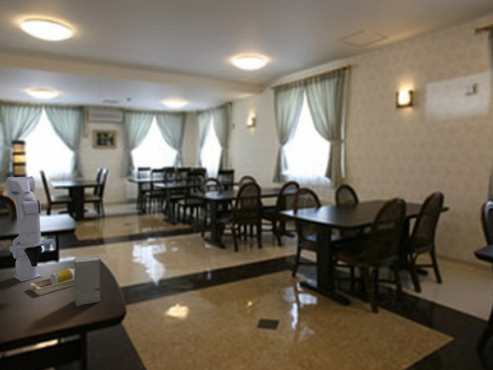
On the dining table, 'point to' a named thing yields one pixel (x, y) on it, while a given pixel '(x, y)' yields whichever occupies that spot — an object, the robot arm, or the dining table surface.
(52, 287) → the tray
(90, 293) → the skincare box
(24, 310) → the dining table surface
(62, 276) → the supplement bottle
